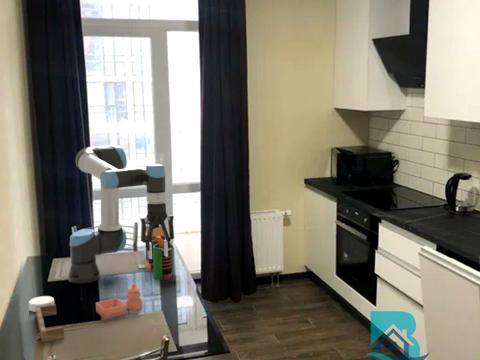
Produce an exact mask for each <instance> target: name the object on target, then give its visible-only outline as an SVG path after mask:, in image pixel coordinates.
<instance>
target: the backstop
mask: <svg viewBox="0 0 480 360" xmlns="http://www.w3.org/2000/svg"><path fill="white" fill-rule="evenodd" d="M35 314H36V319H37V325H38V330H39V335H40V338H41V343H46V342H52V341H56V340H63V339H65V333H64V332H65V330H64V329H65V328H64V326H63V325H62V326H57V327H51V328H47V329H46V325H45V321H44V317H48V316H49V317H50V316H55V315H57V304H56V303H54V304H50V305H44V306H37V307H36V312H35Z"/></svg>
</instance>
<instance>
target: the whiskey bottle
mask: <svg viewBox="0 0 480 360" xmlns="http://www.w3.org/2000/svg"><path fill="white" fill-rule="evenodd" d="M148 229H149V228H147V229H146V236H147V233H148ZM157 236H160V237H162V240H163V243H164V240H166V239H165V236H164V233H163V230H162V227H159V225H155V227H154V229H153V232H152V236H151V240H150V243H152V259H150V258H149V255H148V251H147V250H146V249H145V259H144V267H145V269H146V270H147V271H148V272H150V273H151V272H152V273H154V266H153V246H154V245H155V244H159V242H158V241H155V237H157ZM145 239H146V238H145Z"/></svg>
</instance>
